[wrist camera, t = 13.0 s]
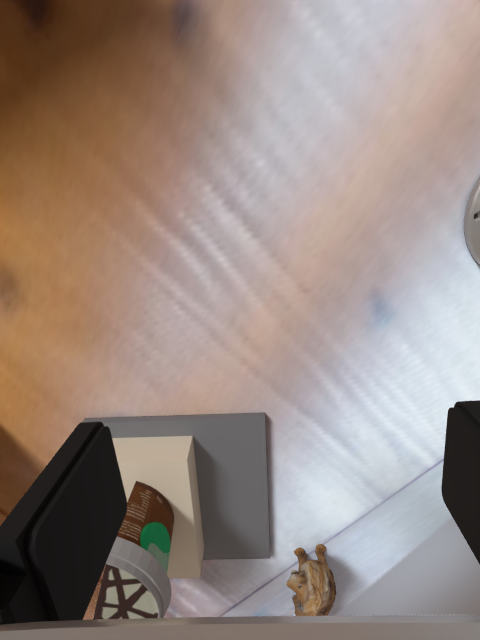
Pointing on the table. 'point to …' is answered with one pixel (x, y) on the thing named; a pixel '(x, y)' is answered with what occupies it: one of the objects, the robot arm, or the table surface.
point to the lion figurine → (312, 584)
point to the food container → (139, 560)
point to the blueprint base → (201, 481)
